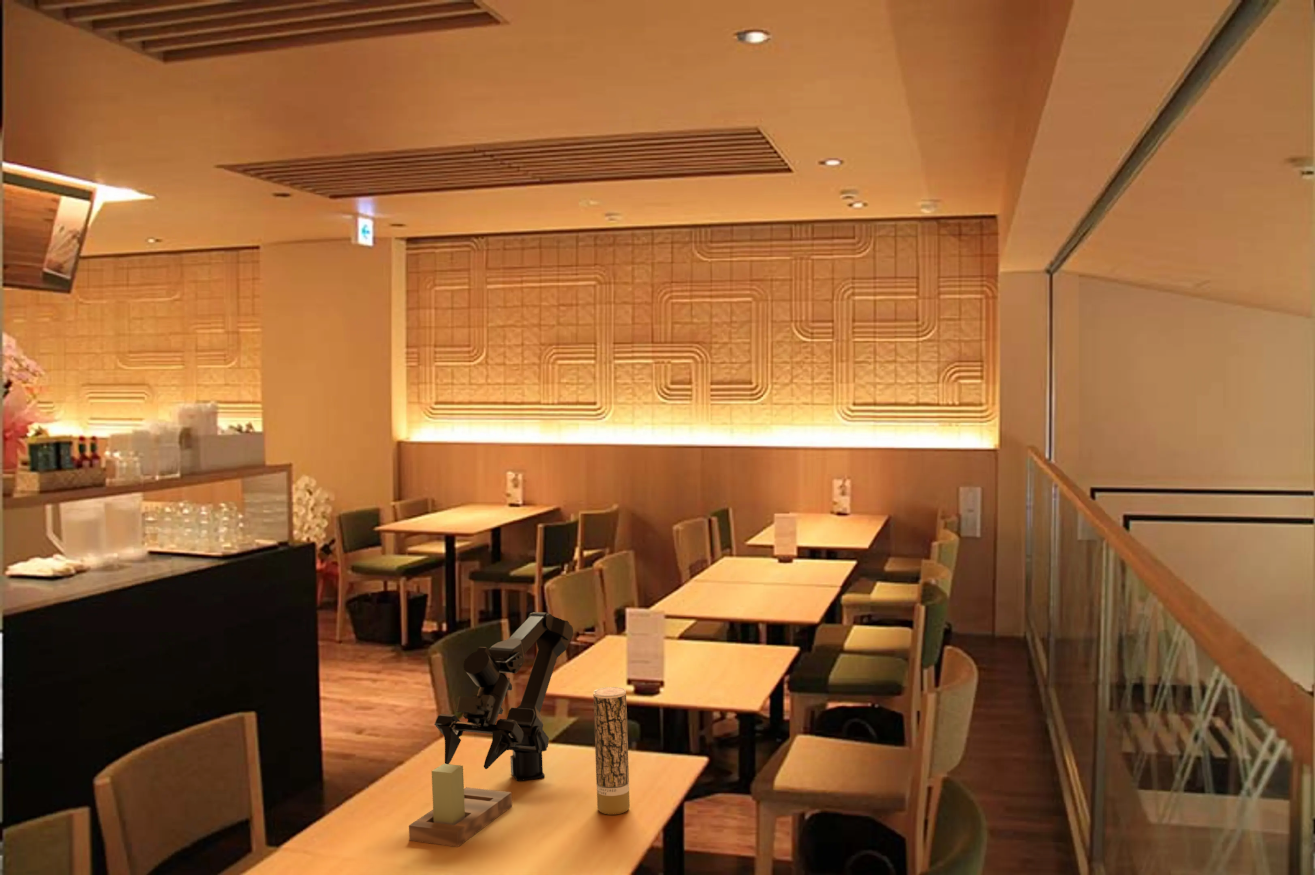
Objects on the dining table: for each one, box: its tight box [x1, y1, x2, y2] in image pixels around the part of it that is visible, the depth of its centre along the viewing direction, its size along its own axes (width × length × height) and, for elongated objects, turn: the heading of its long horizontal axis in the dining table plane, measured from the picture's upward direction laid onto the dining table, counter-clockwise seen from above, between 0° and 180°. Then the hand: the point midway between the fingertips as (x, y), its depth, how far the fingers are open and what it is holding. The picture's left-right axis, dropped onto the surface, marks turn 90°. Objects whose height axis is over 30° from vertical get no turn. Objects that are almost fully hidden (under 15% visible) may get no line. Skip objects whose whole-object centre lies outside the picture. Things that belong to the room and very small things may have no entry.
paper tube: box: [593, 686, 631, 815], centre depth 232 cm, size 7×7×25 cm
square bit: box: [431, 763, 465, 825], centre depth 223 cm, size 4×4×13 cm
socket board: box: [408, 786, 513, 848], centre depth 228 cm, size 22×11×3 cm, turn 159°
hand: (465, 766), depth 230 cm, fingers open, 9 cm apart
